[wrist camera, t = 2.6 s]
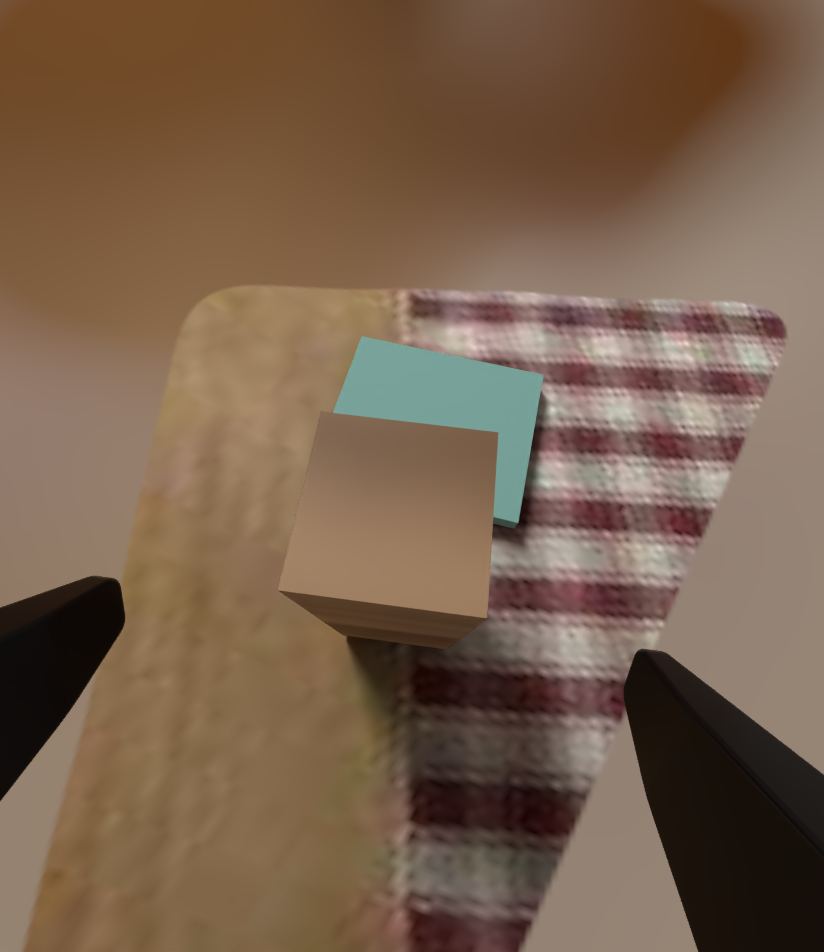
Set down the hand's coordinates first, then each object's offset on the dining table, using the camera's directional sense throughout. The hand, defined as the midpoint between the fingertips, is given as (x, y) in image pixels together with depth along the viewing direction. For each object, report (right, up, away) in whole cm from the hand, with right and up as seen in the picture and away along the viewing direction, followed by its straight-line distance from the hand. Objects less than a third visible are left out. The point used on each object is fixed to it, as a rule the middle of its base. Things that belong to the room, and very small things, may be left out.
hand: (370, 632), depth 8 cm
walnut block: (0, -2, +11) cm, 11 cm away
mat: (+2, +5, +14) cm, 15 cm away
